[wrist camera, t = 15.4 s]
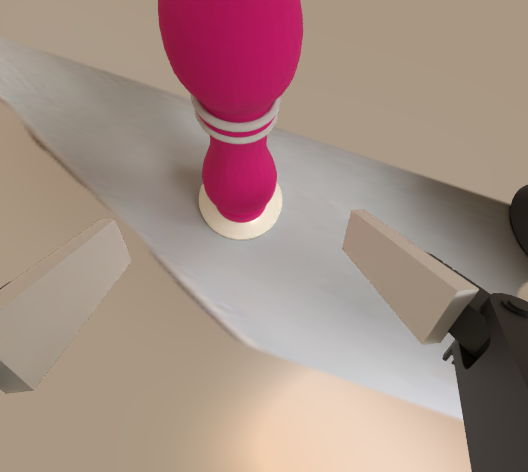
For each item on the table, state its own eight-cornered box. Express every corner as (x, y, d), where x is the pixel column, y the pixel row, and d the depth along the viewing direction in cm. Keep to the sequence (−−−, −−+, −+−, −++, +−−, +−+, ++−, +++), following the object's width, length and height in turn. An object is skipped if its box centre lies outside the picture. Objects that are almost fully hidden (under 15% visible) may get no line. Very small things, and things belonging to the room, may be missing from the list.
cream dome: (295, 216, 25) (297, 213, 24) (224, 255, 23) (223, 254, 22) (256, 155, 27) (256, 150, 26) (186, 186, 25) (184, 182, 24)
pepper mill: (218, 234, 23) (70, -83, 3) (204, 179, 24) (49, -243, 5) (278, 218, 24) (418, -85, 5) (261, 167, 25) (309, -215, 6)
